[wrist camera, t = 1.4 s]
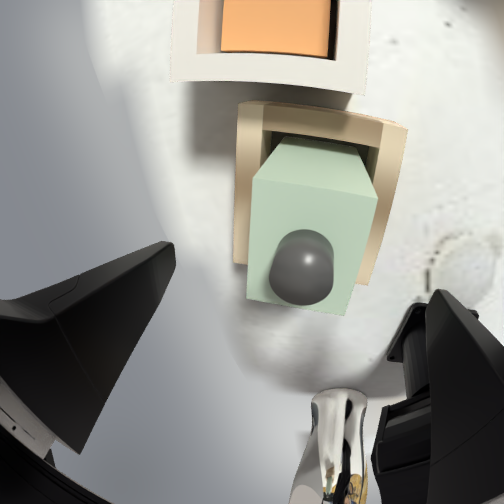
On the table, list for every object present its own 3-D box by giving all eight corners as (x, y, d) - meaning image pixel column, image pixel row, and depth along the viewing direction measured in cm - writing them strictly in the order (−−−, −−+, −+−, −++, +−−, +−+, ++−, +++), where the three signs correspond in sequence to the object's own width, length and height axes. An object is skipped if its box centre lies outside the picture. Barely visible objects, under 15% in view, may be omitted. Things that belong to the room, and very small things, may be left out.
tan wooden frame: (363, 257, 19) (367, 285, 16) (245, 237, 20) (233, 262, 17) (393, 121, 14) (407, 129, 11) (252, 100, 15) (238, 103, 13)
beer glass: (308, 415, 31) (284, 532, 18) (306, 384, 27) (277, 527, 15) (367, 415, 29) (356, 535, 16) (375, 384, 25) (368, 530, 13)
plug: (341, 225, 18) (343, 343, 10) (277, 215, 19) (236, 324, 11) (355, 147, 15) (386, 218, 7) (285, 136, 16) (240, 195, 8)
